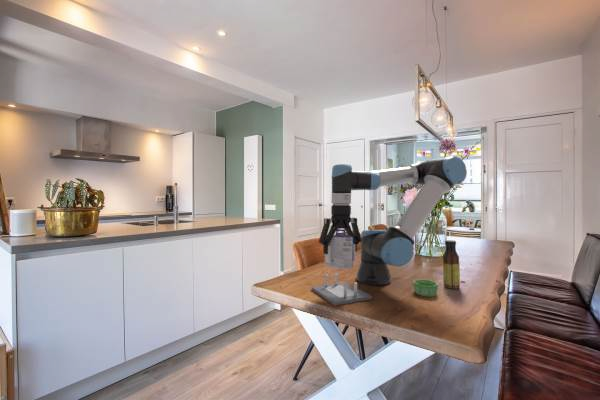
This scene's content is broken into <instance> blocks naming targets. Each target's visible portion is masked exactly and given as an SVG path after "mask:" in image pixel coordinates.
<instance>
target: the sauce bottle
mask: <svg viewBox="0 0 600 400" xmlns="http://www.w3.org/2000/svg"><path fill="white" fill-rule="evenodd" d="M444 244H445V251H444V253H443V255H442V276H443V278H442V279H443V280H442V281H443V287H445V288H446V289H450V290H459V289H460V288H461V286H460V285H461V276H460V275H461V272H460V271H461V270H460V266H461V265H460V256H459V254H458V253H457V250H456V248H457V247H456V245H457V242H456V240H452V239H446V240H444Z"/></svg>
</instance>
